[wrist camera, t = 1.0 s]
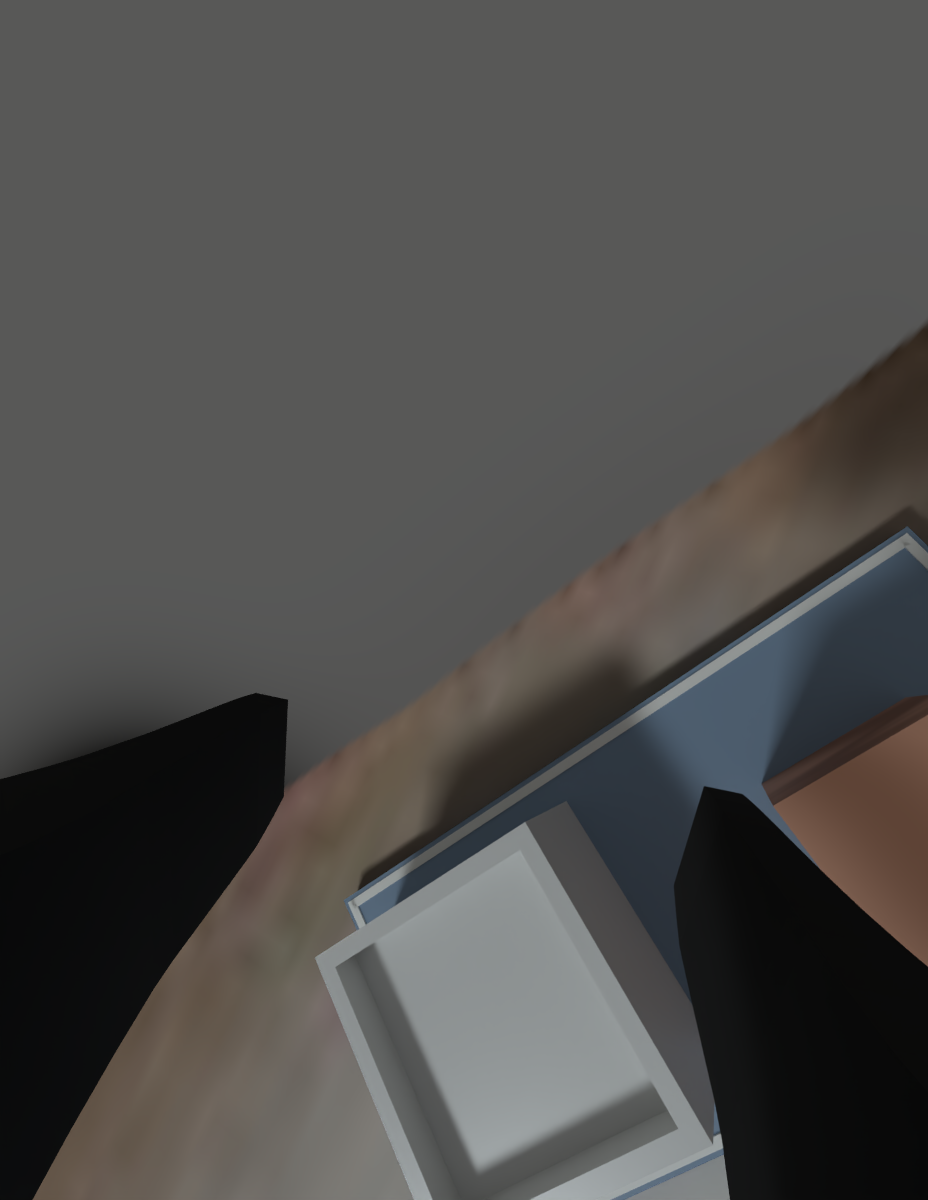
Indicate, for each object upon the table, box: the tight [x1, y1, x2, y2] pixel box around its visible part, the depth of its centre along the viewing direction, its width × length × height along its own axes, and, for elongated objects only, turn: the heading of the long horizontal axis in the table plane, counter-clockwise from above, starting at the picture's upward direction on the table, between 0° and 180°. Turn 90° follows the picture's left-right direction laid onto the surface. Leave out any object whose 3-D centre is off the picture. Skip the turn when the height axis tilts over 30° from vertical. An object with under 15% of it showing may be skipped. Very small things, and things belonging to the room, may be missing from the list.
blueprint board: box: [344, 526, 928, 1200], centre depth 18 cm, size 22×11×1 cm, turn 123°
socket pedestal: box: [315, 801, 715, 1200], centre depth 17 cm, size 8×8×4 cm
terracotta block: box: [762, 695, 928, 966], centre depth 14 cm, size 4×4×5 cm
